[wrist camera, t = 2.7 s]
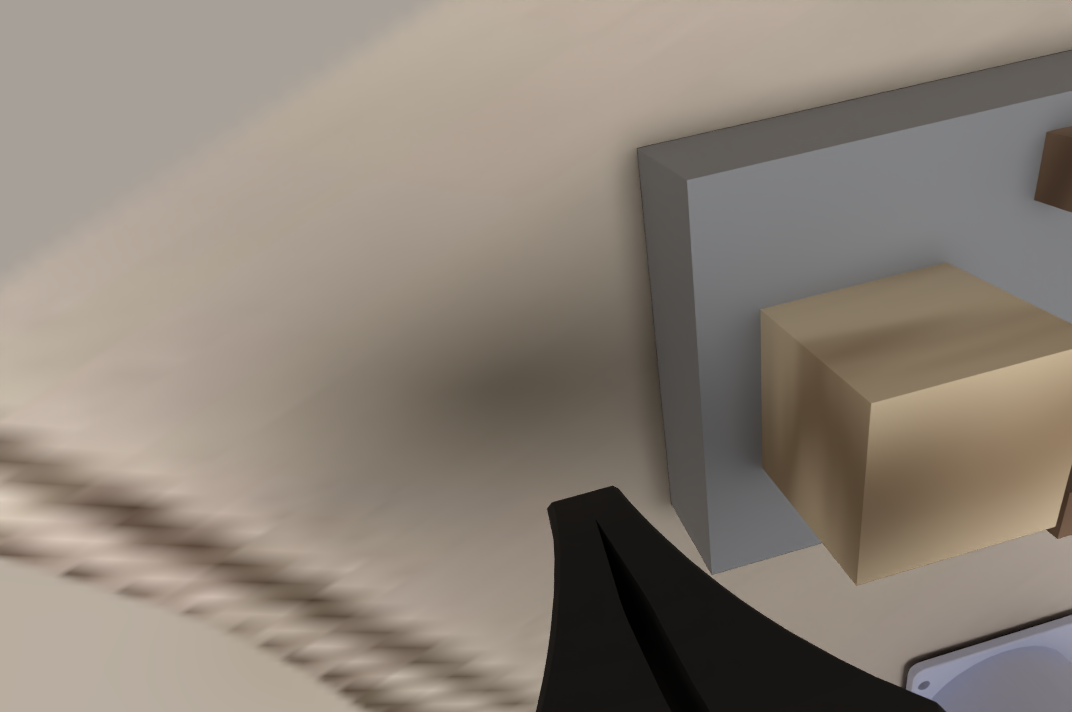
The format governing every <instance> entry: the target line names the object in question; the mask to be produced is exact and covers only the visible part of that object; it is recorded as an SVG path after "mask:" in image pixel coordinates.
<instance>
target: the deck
mask: <svg viewBox="0 0 1072 712" xmlns="http://www.w3.org/2000/svg"><path fill="white" fill-rule="evenodd" d="M1069 126H1072V50H1070V51H1066V52H1061V53H1057V54H1052V55H1048V56H1043V57H1039V58H1035V59H1030V60H1026V61H1021V62H1017V63H1013V64H1008V65H1004V66H999V67H995V68H990V69H986V70H982V71H977V72H973V73H968V74H964V75H960V76H955V77H951V78H946V79H942V80H937V81H933V82H929V83H924V84H920V85H915V86H911V87H907V88H902V89H898V90H893V91H889V92H884V93H880V94H876V95H871V96H867V97H862V98H858V99H854V100H849V101H845V102H840V103H836V104H831V105H827V106H823V107H818V108H814V109H809V110H805V111H801V112H796V113H792V114H787V115H783V116H778V117H774V118H770V119H765V120H761V121H756V122H752V123H748V124H743V125H739V126H734V127H730V128H725V129H721V130H717V131H712V132H708V133H703V134H699V135H695V136H690V137H686V138H681V139H677V140H672V141H668V142H664V143H659V144H655V145H650V146H646V147H642V148H637V152H638V162H639V173H640V183H641V193H642V204H643V214H644V224H645V235H646V245H647V256H648V266H649V276H650V287H651V297H652V307H653V318H654V328H655V338H656V349H657V359H658V370H659V380H660V390H661V401H662V411H663V421H664V432H665V442H666V452H667V463H668V473H669V483H670V494H671V504H672V506H673V508H674V509H675V511H676V513H677V515H678V516H679V518H680V520H681V522H682V523H683V525H684V527H685V529H686V530H687V532H688V534H689V536H690V537H691V539H692V541H693V543H694V544H695V546H696V548H697V550H698V551H699V553H700V555H701V557H702V558H703V560H704V562H705V564H706V565H707V567H708V569H709V571H710V572H711V574H712V575H713V574H717V573H720V572H724V571H727V570H731V569H734V568H738V567H741V566H745V565H748V564H751V563H755V562H758V561H762V560H765V559H769V558H772V557H776V556H779V555H783V554H786V553H789V552H793V551H796V550H800V549H803V548H807V547H810V546H814V545H817V544H821V543H822V542H821V541H820V539H819V538H818V537H817V536H816V534H815V533H814V532H813V531H812V529H811V528H810V527H809V526H808V524H807V523H806V522H805V521H804V519H803V518H802V517H801V516H800V514H799V513H798V512H797V511H796V509H795V508H794V507H793V506H792V504H791V503H790V502H789V501H788V499H787V498H786V497H785V496H784V494H783V493H782V492H781V491H780V489H779V488H778V487H777V486H776V484H775V483H774V482H773V481H772V479H771V478H770V477H769V476H768V474H767V473H766V472H765V471H764V469H763V468H762V397H761V314H760V309H764V308H768V307H772V306H776V305H780V304H784V303H788V302H792V301H795V300H799V299H803V298H807V297H811V296H815V295H819V294H823V293H827V292H831V291H835V290H839V289H843V288H847V287H851V286H855V285H859V284H863V283H866V282H870V281H874V280H878V279H882V278H886V277H890V276H894V275H898V274H902V273H906V272H910V271H914V270H918V269H922V268H926V267H930V266H934V265H938V264H941V263H945V262H947V263H949V264H951V265H953V266H955V267H957V268H959V269H961V270H963V271H965V272H967V273H969V274H971V275H973V276H975V277H978V278H980V279H982V280H984V281H986V282H988V283H990V284H992V285H994V286H996V287H998V288H1000V289H1002V290H1004V291H1006V292H1008V293H1010V294H1012V295H1014V296H1016V297H1018V298H1020V299H1022V300H1024V301H1026V302H1028V303H1030V304H1032V305H1034V306H1036V307H1038V308H1040V309H1042V310H1044V311H1046V312H1049V313H1051V314H1053V315H1055V316H1057V317H1059V318H1061V319H1063V320H1065V321H1067V322H1069V323H1071V324H1072V213H1071V212H1068V211H1065V210H1062V209H1059V208H1056V207H1053V206H1050V205H1047V204H1044V203H1041V202H1038V201H1035V200H1034V197H1035V191H1036V186H1037V181H1038V175H1039V170H1040V165H1041V159H1042V154H1043V148H1044V143H1045V138H1046V132H1048V131H1052V130H1056V129H1060V128H1065V127H1069Z"/></svg>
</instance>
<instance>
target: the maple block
mask: <svg viewBox="0 0 1072 712" xmlns="http://www.w3.org/2000/svg"><path fill="white" fill-rule="evenodd" d="M760 314H761V397H762V468H763V469H764V471H765V472H766V473H767V474H768V476H769V477H770V478H771V479H772V481H773V482H774V483H775V484H776V486H777V487H778V488H779V489H780V491H781V492H782V493H783V494H784V496H785V497H786V498H787V499H788V501H789V502H790V503H791V504H792V506H793V507H794V508H795V509H796V511H797V512H798V513H799V514H800V516H801V517H802V518H803V519H804V521H805V522H806V523H807V524H808V526H809V527H810V528H811V529H812V531H813V532H814V533H815V534H816V536H817V537H818V538H819V539H820V541H821V542H822V543H823V544H824V546H825V547H826V548H827V549H828V551H829V552H830V553H831V554H832V556H833V557H834V558H835V559H836V561H837V562H838V563H839V564H840V566H841V567H842V568H843V569H844V571H845V572H846V573H847V574H848V576H849V577H850V578H851V579H852V581H853V582H854V583H855V584H856V586H857V585H861V584H864V583H867V582H871V581H874V580H878V579H881V578H884V577H888V576H891V575H894V574H898V573H901V572H904V571H908V570H911V569H915V568H918V567H921V566H925V565H928V564H931V563H935V562H938V561H941V560H945V559H948V558H952V557H955V556H958V555H962V554H965V553H968V552H972V551H975V550H978V549H982V548H985V547H989V546H992V545H995V544H999V543H1002V542H1005V541H1009V540H1012V539H1016V538H1019V537H1022V536H1026V535H1029V534H1032V533H1036V532H1039V531H1042V530H1046V529H1049V528H1053V527H1055V526H1056V522H1057V519H1058V515H1059V511H1060V507H1061V503H1062V500H1063V496H1064V492H1065V488H1066V485H1067V481H1068V477H1069V473H1070V469H1071V466H1072V324H1071V323H1069V322H1067V321H1065V320H1063V319H1061V318H1059V317H1057V316H1055V315H1053V314H1051V313H1049V312H1046V311H1044V310H1042V309H1040V308H1038V307H1036V306H1034V305H1032V304H1030V303H1028V302H1026V301H1024V300H1022V299H1020V298H1018V297H1016V296H1014V295H1012V294H1010V293H1008V292H1006V291H1004V290H1002V289H1000V288H998V287H996V286H994V285H992V284H990V283H988V282H986V281H984V280H982V279H980V278H978V277H975V276H973V275H971V274H969V273H967V272H965V271H963V270H961V269H959V268H957V267H955V266H953V265H951V264H949V263H947V262H945V263H941V264H938V265H934V266H930V267H926V268H922V269H918V270H914V271H910V272H906V273H902V274H898V275H894V276H890V277H886V278H882V279H878V280H874V281H870V282H866V283H863V284H859V285H855V286H851V287H847V288H843V289H839V290H835V291H831V292H827V293H823V294H819V295H815V296H811V297H807V298H803V299H799V300H795V301H792V302H788V303H784V304H780V305H776V306H772V307H768V308H764V309H760Z"/></svg>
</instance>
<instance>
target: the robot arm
mask: <svg viewBox="0 0 1072 712" xmlns="http://www.w3.org/2000/svg"><path fill="white" fill-rule="evenodd" d="M547 510H548V515H549V520H550V525H551V529H552V534H553V539H554V556H555V565H554V599H553V610H552V621H551V631H550V639H549V647H548V653H547V659H546V665H545V671H544V677H543V682H542V686H541V691H540V696H539V700H538V705H537V709H536V712H1072V615H1069V616H1066V617H1063V618H1060V619H1057V620H1053V621H1050V622H1047V623H1044V624H1040V625H1037V626H1034V627H1031V628H1028V629H1024V630H1021V631H1018V632H1015V633H1012V634H1008V635H1005V636H1002V637H999V638H995V639H992V640H989V641H986V642H983V643H979V644H976V645H973V646H970V647H967V648H963V649H960V650H957V651H954V652H950V653H947V654H944V655H941V656H938V657H934V658H931V659H928V660H925V661H922V662H919V663H916V664H915V665H913V666H912V667H911V668H910V670H909V672H908V677H907V684H906V689H904V688H901V687H899V686H896V685H894V684H892V683H889V682H887V681H884V680H882V679H879V678H877V677H875V676H873V675H871V674H869V673H867V672H865V671H863V670H861V669H859V668H857V667H854V666H852V665H850V664H848V663H846V662H844V661H842V660H840V659H838V658H837V657H835V656H833V655H831V654H829V653H827V652H826V651H824V650H822V649H820V648H818V647H817V646H815V645H813V644H811V643H809V642H808V641H806V640H804V639H802V638H800V637H799V636H797V635H795V634H793V633H791V632H790V631H788V630H786V629H785V628H783V627H782V626H780V625H778V624H777V623H775V622H774V621H772V620H771V619H769V618H767V617H766V616H764V615H763V614H761V613H760V612H758V611H757V610H755V609H754V608H752V607H751V606H749V605H748V604H746V603H745V602H743V601H742V600H741V599H739V598H738V597H736V596H735V595H734V594H732V593H731V592H730V591H728V590H727V589H726V588H724V587H723V586H722V585H720V584H719V583H718V582H716V581H715V580H714V579H713V578H711V577H710V576H709V575H708V574H706V573H705V572H704V571H703V570H701V569H700V568H699V567H698V566H697V565H695V564H694V563H693V562H692V561H691V560H689V559H688V558H687V557H686V556H685V555H684V554H683V553H682V552H680V551H679V550H678V549H677V548H676V547H675V546H674V545H673V544H672V543H670V542H669V541H668V540H667V539H666V538H665V537H664V536H663V535H662V534H661V533H660V532H659V531H657V530H656V529H655V528H654V527H653V526H652V525H651V524H650V523H649V522H648V521H647V520H646V519H645V518H644V517H643V516H642V514H641V513H640V512H639V511H638V510H637V509H636V508H635V507H634V506H633V505H632V504H631V503H630V502H629V500H628V499H627V498H626V497H625V496H624V495H623V493H622V492H621V491H620V490H619V489H618V488H616V487H614V486H610V487H606V488H603V489H599V490H595V491H592V492H588V493H585V494H581V495H577V496H574V497H570V498H566V499H563V500H559V501H555V502H552V503H551V504H550V506H549V507H548V508H547Z"/></svg>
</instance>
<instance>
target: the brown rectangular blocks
mask: <svg viewBox="0 0 1072 712" xmlns="http://www.w3.org/2000/svg"><path fill="white" fill-rule="evenodd" d="M1034 200H1035V201H1038V202H1041V203H1044V204H1047V205H1050V206H1053V207H1056V208H1059V209H1062V210H1065V211H1068V212H1071V213H1072V126H1069V127H1065V128H1060V129H1056V130H1052V131H1048V132H1046V138H1045V143H1044V148H1043V154H1042V159H1041V165H1040V170H1039V175H1038V181H1037V186H1036V191H1035V197H1034ZM1046 530H1047V531H1048V532H1050V533H1051V534H1052V535H1053V536H1055V537H1056V538H1057V539H1059V538H1062V537H1066V536H1069V535H1072V466H1071V469H1070V473H1069V477H1068V481H1067V485H1066V488H1065V492H1064V496H1063V500H1062V503H1061V507H1060V511H1059V515H1058V519H1057V522H1056V526H1055V527H1053V528H1049V529H1046Z"/></svg>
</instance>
